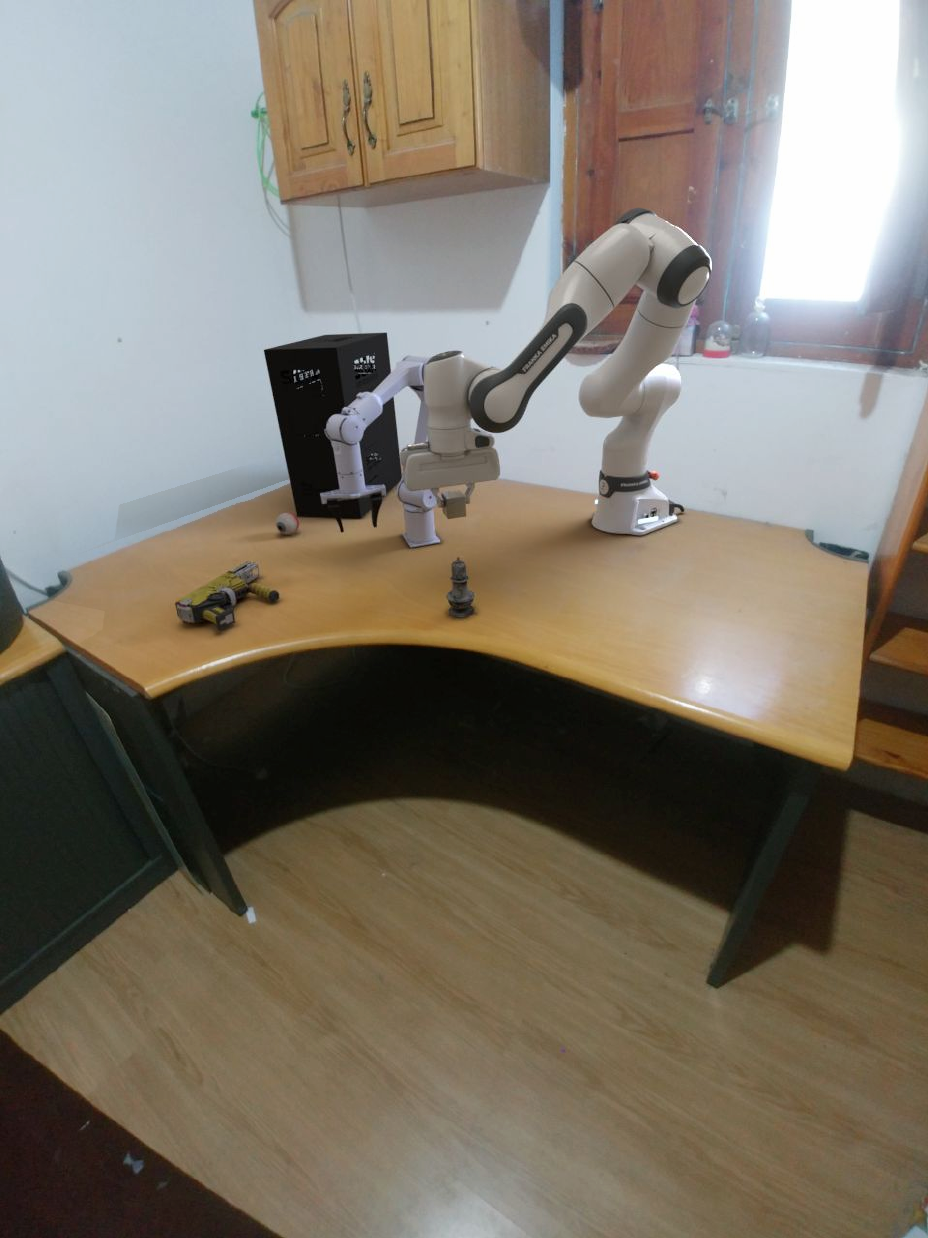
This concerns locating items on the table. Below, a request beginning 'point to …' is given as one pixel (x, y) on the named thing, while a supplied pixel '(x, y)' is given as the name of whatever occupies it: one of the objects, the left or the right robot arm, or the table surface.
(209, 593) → the toy gun
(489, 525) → the table surface
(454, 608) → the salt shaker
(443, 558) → the table surface
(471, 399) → the right robot arm
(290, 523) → the eyeball
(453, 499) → the block
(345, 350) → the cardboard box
